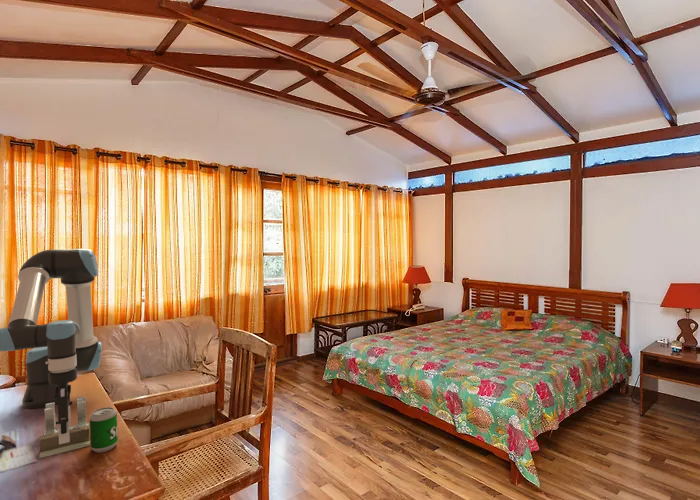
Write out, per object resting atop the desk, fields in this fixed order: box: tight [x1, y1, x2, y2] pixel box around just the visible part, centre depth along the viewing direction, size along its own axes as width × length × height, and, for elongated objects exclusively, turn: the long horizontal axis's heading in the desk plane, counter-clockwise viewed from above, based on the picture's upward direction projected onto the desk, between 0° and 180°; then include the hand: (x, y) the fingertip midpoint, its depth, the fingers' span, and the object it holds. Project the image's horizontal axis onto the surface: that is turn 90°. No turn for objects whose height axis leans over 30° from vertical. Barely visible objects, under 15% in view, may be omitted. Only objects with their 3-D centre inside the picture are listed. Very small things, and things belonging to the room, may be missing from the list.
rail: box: [39, 424, 90, 453], centre depth 131 cm, size 13×3×4 cm, turn 123°
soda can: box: [89, 406, 119, 453], centre depth 130 cm, size 8×8×12 cm
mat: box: [38, 439, 91, 459], centre depth 131 cm, size 7×13×1 cm, turn 123°
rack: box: [43, 395, 90, 436], centre depth 141 cm, size 7×13×10 cm, turn 123°
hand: (65, 434), depth 131 cm, fingers open, 13 cm apart
